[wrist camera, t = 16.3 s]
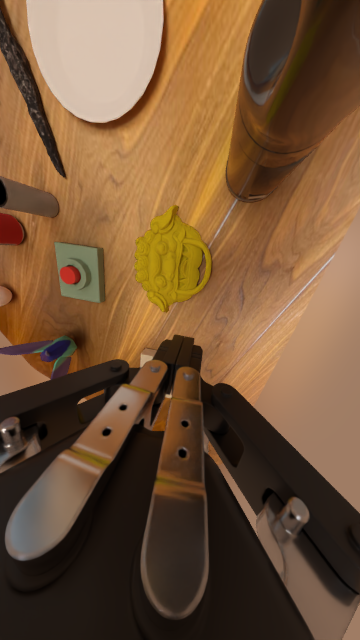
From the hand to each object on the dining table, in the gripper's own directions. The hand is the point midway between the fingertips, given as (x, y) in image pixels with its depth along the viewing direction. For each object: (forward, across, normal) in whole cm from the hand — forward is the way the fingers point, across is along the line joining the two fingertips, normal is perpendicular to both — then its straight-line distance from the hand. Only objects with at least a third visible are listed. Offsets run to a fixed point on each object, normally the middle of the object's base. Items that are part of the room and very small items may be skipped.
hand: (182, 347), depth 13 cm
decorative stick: (+27, +36, -30) cm, 54 cm away
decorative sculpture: (+27, +32, +21) cm, 47 cm away
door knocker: (+27, +7, -3) cm, 28 cm away
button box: (+27, +28, +2) cm, 39 cm away
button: (+23, +28, +2) cm, 37 cm away
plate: (+27, +22, -34) cm, 49 cm away
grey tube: (+27, +35, -11) cm, 46 cm away
